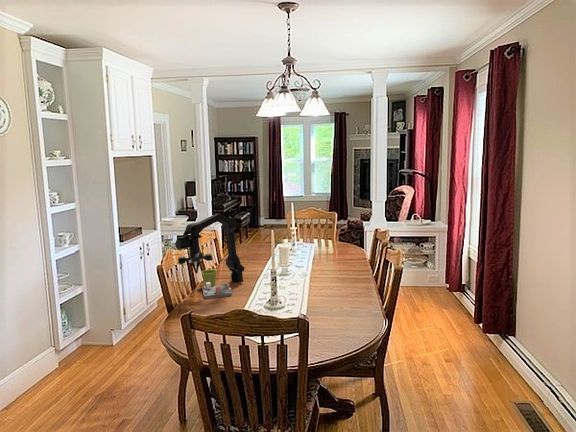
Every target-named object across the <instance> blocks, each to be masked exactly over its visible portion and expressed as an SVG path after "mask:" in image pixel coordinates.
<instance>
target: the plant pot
mask: <svg viewBox="0 0 576 432" xmlns="http://www.w3.org/2000/svg"><path fill="white" fill-rule="evenodd" d="M217 272H218V271H217V270H216V269H205V270H202V271H201V272H200V274H201V276H202V279H203V283H204V286H206V282H210V283H211V286H215V285H216V281H217V280H216V279H217Z"/></svg>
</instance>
